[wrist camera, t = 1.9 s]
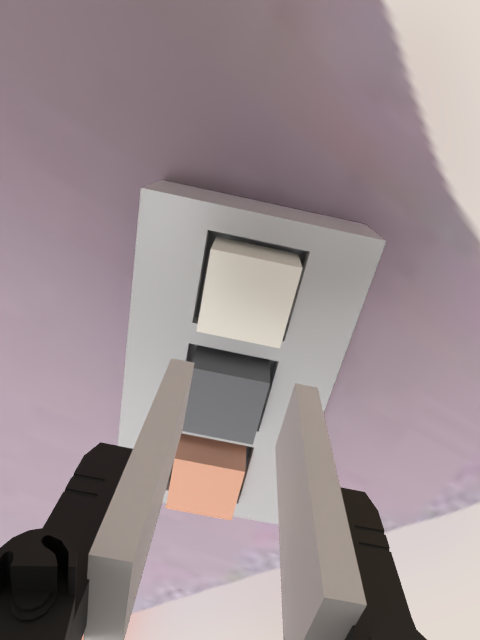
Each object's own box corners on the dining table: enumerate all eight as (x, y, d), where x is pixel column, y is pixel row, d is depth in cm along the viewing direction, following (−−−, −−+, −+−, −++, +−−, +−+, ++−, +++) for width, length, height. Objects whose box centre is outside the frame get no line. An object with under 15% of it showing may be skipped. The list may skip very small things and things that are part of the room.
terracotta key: (182, 429, 30) (174, 458, 27) (246, 441, 30) (245, 471, 27) (173, 476, 32) (165, 508, 29) (234, 488, 32) (231, 520, 29)
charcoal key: (197, 344, 26) (189, 367, 24) (269, 358, 27) (270, 383, 24) (187, 403, 28) (179, 430, 26) (253, 416, 29) (252, 444, 26)
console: (162, 179, 26) (140, 187, 21) (365, 224, 26) (386, 240, 22) (132, 449, 36) (113, 493, 31) (279, 477, 36) (282, 525, 32)
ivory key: (216, 236, 23) (210, 248, 21) (297, 253, 23) (302, 268, 21) (203, 311, 25) (196, 331, 23) (278, 326, 26) (280, 348, 23)
